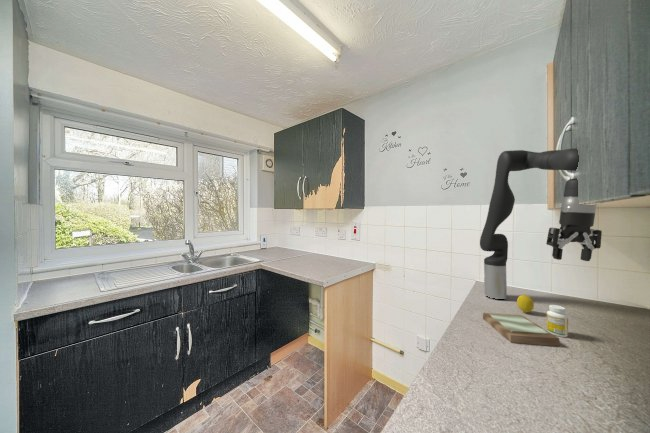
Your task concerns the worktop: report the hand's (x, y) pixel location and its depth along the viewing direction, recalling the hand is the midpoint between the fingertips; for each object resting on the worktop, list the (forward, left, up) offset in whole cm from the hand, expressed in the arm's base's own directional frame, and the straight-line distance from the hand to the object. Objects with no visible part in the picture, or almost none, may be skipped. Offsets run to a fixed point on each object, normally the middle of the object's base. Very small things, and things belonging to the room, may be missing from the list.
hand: (570, 259), depth 74 cm
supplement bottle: (-7, +1, -28) cm, 29 cm away
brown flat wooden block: (-7, -12, -28) cm, 31 cm away
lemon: (-25, +2, -28) cm, 37 cm away
